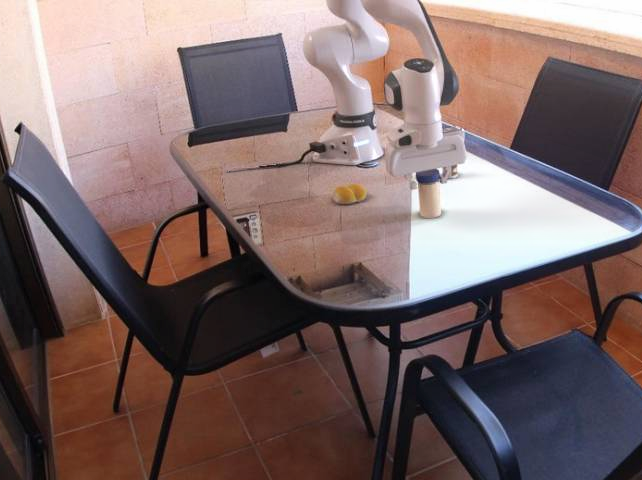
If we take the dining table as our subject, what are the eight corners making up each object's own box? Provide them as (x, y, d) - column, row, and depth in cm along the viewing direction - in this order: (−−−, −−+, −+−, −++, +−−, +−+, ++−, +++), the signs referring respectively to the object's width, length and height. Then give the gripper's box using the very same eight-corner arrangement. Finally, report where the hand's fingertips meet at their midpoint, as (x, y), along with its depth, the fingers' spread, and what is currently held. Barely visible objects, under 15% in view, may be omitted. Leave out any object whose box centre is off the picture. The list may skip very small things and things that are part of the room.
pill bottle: (456, 179, 191) (454, 153, 186) (441, 178, 191) (439, 152, 187) (459, 173, 194) (457, 147, 190) (444, 173, 195) (443, 147, 191)
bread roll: (371, 199, 181) (369, 185, 179) (341, 207, 177) (339, 193, 175) (358, 190, 187) (356, 176, 185) (329, 198, 183) (327, 184, 181)
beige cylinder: (418, 217, 169) (414, 178, 164) (422, 209, 174) (419, 170, 168) (439, 218, 168) (436, 179, 163) (442, 209, 173) (440, 171, 167)
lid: (437, 184, 163) (436, 176, 162) (413, 183, 164) (413, 176, 163) (442, 175, 168) (441, 167, 167) (419, 174, 169) (418, 167, 168)
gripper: (459, 121, 164) (462, 174, 172) (380, 134, 158) (386, 189, 166) (469, 128, 159) (471, 182, 167) (387, 142, 153) (393, 197, 161)
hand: (428, 185), depth 166 cm, fingers open, 7 cm apart
